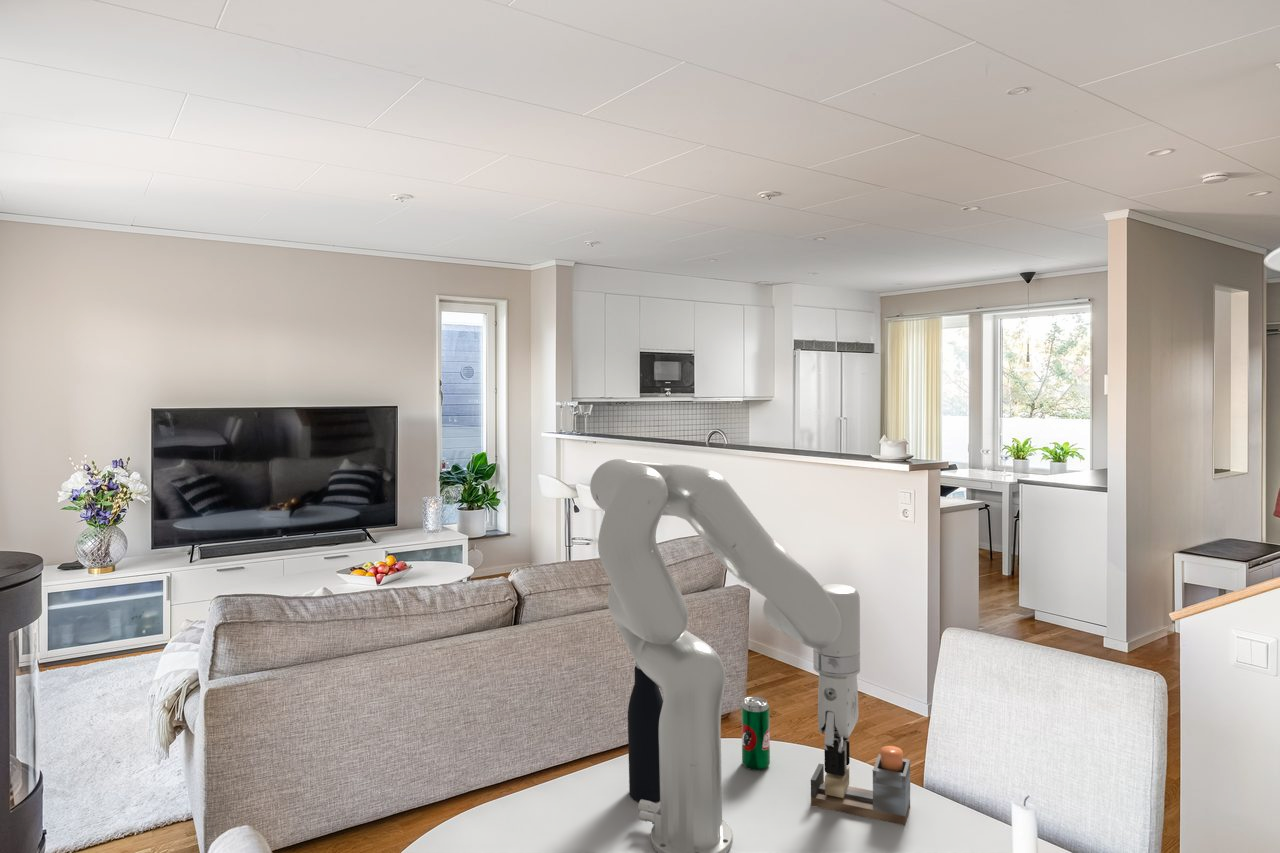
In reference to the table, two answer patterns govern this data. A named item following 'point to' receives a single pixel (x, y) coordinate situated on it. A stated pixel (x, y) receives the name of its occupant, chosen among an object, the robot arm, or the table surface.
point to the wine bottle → (644, 738)
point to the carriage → (837, 780)
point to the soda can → (755, 733)
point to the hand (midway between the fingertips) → (837, 767)
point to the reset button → (891, 758)
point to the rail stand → (869, 795)
